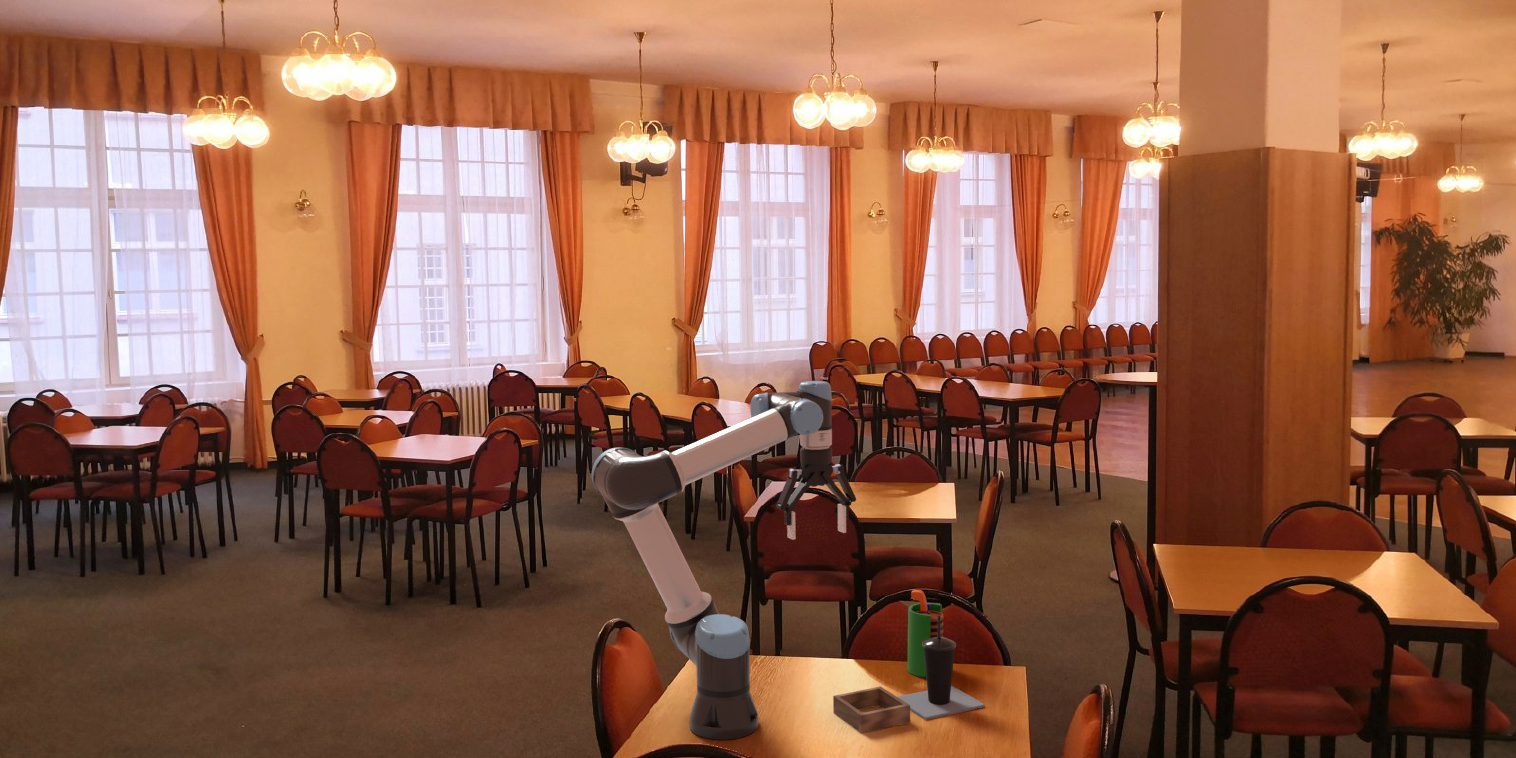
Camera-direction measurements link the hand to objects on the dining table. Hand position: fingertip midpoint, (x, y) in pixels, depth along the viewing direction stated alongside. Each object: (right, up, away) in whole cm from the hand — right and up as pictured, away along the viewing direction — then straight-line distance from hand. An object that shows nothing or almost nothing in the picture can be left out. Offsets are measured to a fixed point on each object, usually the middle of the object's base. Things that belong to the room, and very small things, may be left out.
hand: (817, 535), depth 266 cm
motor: (+28, -36, +12) cm, 46 cm away
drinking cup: (+28, -37, -9) cm, 47 cm away
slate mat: (+28, -37, -9) cm, 47 cm away
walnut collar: (+11, -38, -17) cm, 43 cm away
